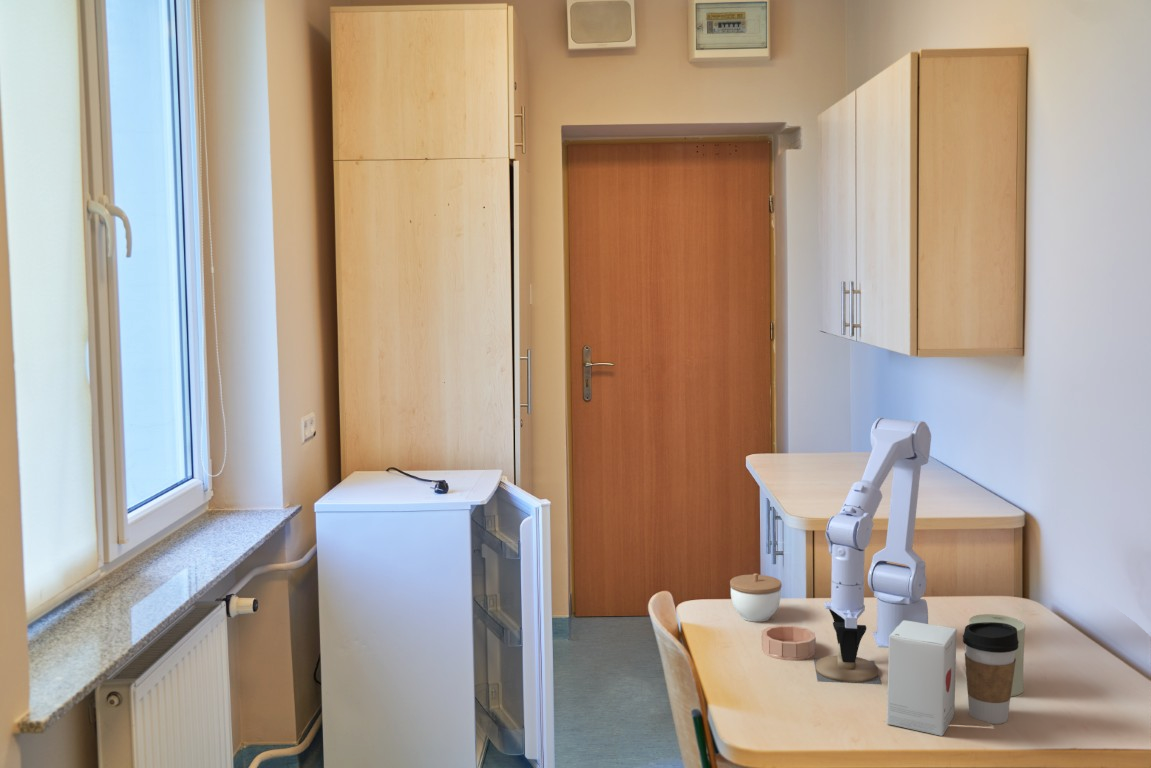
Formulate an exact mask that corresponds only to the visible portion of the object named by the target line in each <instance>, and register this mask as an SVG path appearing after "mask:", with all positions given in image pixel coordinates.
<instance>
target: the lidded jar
mask: <svg viewBox="0 0 1151 768" xmlns="http://www.w3.org/2000/svg"><path fill="white" fill-rule="evenodd" d="M729 586H730V598H731V604H732V606H733V609H734V610H735V611H736V613H737V614H739V616H740V618H741V619H742V620H744V621H748V622H754V623H761V622H767V621H769V620H770V619H771V617H772V616H773V615H774V614H775V613H776V612H777V610H778V609H779V606H780V603H781V597H782V596H781V595H782V592H781V591H782V581H781V580H780V579H778V578H777V577H773V576H770V575H766V574H759V573H757V572H756V573H755V572H754V573H753V574H742V575H738V576H734V577H733V578H731V579H730V580H729Z"/></svg>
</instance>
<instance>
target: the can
mask: <svg viewBox="0 0 1151 768" xmlns="http://www.w3.org/2000/svg"><path fill="white" fill-rule="evenodd" d="M982 622H997V623H1005V624H1009V625H1012V626H1013V627H1015V628H1016V629H1017V636H1018V641H1019V644H1018V646H1019V647H1018V649H1017V650H1015V659H1016V662H1015V669H1014V676H1013V684H1012V691H1011V697H1016V696H1019V695H1021V694H1022V693H1023V692H1024V690H1025V687H1024V658H1025V657H1024V656H1025V655H1024V654H1025V636H1026V635H1025V634H1026V633H1025V632H1026V624H1025V623H1024V622H1023V621H1021V620H1019V619H1018V618H1014V617H1011V616H1006V615H1003V614H992V613H991V614H990V613H985V614H978V615H972V616H970V618H969V619H968V625H969V624H973V623H982Z"/></svg>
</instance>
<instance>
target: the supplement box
mask: <svg viewBox="0 0 1151 768" xmlns="http://www.w3.org/2000/svg"><path fill="white" fill-rule="evenodd" d="M957 631H958V630H957V628H954V627H949V626H944V625H943V626H942V625H935V624H929V623H928V624H924V623H918V622H913V621H906V620H904V621H902V622H901V624H900V625H899V626H897V627H896V628H895V630H894V631H893V632H892V634H891V635H890V636H889V648H888V666H887V667H888V670H887V671H888V672H887V673H888V674H887V675H888V676H887V703H886V704H887V705H886V706H887V707H886V708H887V709H886V724H887V725H891V726H894V727H900V728H905V729H909V730H913V731H918V732H923V733H927V734H932V735H936V736H940V737H942V736H943V735H944V734H945V733H946V731H947V730H948V728H949V726H950V724H951V721H952V720H953V718H954V717H955V707H956V705H955V704H956V703H955V701H956V700H955V699H956V672H957V671H956V669H957V667H956V665H957V664H956V663H957V634H958V633H957ZM943 737H944V736H943Z"/></svg>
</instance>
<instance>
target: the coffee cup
mask: <svg viewBox="0 0 1151 768" xmlns="http://www.w3.org/2000/svg"><path fill="white" fill-rule="evenodd" d="M962 642H963V644H965V652H964V662H965V675H966V686H967V687H966V690H967V699H968V701H967V703H968V714H969V715H970V716H971V717H972V718H974V719H977V720H979V721H982V722H988V723H989V724H990V725H1000V724H1003V723H1007V722H1008V719H1009V714H1010V713H1009V711H1010V702H1011V697H1012V696H1011V691H1012V684H1013V676H1014V669H1015V662H1016V659H1015V650H1017V649H1018V647H1019V646H1018V644H1019V641H1018V636H1017V629H1016V628H1015V627H1013V626H1012V625H1009V624H1005V623H997V622H982V623H973V624H969V623H968V624H967V625H965V627H964V633H963V635H962Z"/></svg>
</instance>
